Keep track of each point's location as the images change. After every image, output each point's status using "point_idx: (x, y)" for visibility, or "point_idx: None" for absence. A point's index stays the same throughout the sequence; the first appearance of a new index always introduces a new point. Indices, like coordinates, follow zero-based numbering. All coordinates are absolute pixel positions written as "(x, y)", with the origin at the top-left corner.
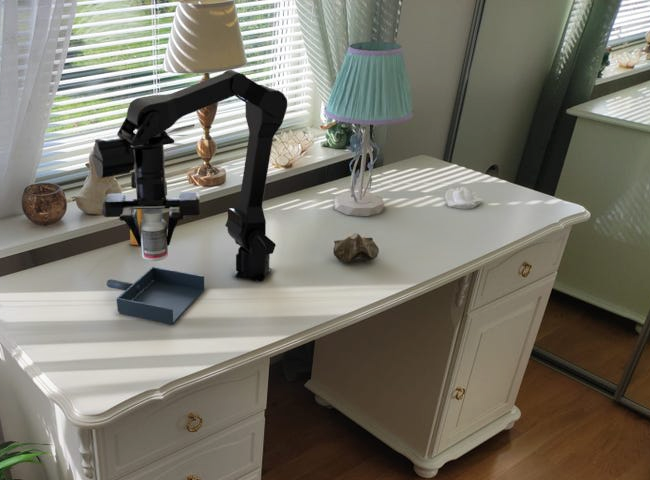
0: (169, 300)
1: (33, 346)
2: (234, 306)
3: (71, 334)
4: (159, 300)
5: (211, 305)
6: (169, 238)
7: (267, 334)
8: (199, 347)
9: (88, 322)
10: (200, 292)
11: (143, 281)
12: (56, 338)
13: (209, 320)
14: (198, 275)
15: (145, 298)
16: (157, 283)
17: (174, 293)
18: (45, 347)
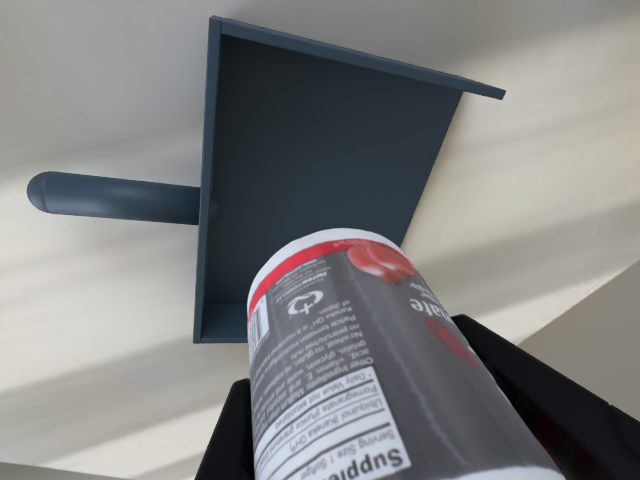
0: (344, 203)
1: (77, 457)
2: (545, 174)
3: (132, 405)
4: (309, 211)
5: (478, 185)
6: None
7: (584, 277)
8: None
9: (138, 359)
10: (451, 116)
11: (213, 152)
12: (106, 425)
13: (466, 261)
14: (480, 91)
15: (253, 211)
16: (255, 67)
17: (353, 147)
18: (109, 450)
